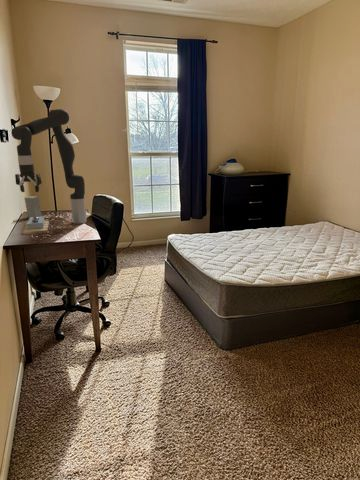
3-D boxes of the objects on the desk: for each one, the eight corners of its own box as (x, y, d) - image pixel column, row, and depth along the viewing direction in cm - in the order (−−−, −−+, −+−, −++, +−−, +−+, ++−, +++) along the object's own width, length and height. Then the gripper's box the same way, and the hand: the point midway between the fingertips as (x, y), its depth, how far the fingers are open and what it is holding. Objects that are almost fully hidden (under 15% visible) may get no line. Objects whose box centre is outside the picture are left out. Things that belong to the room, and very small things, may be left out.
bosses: (34, 224, 217) (33, 217, 215) (39, 224, 218) (39, 216, 216) (32, 228, 206) (31, 220, 205) (38, 228, 207) (37, 220, 206)
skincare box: (42, 216, 247) (39, 196, 243) (34, 218, 241) (32, 197, 236) (34, 215, 251) (31, 195, 246) (26, 217, 244) (23, 196, 240)
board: (27, 223, 225) (27, 221, 224) (48, 222, 229) (48, 220, 229) (22, 234, 197) (22, 232, 197) (47, 232, 202) (47, 230, 202)
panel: (30, 222, 222) (30, 217, 221) (44, 221, 225) (44, 216, 224) (27, 229, 203) (27, 223, 202) (43, 228, 206) (42, 222, 205)
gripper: (41, 163, 186) (44, 191, 191) (17, 163, 187) (22, 191, 192) (34, 164, 179) (38, 193, 184) (10, 164, 180) (14, 193, 185)
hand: (30, 192), depth 188 cm, fingers open, 8 cm apart
